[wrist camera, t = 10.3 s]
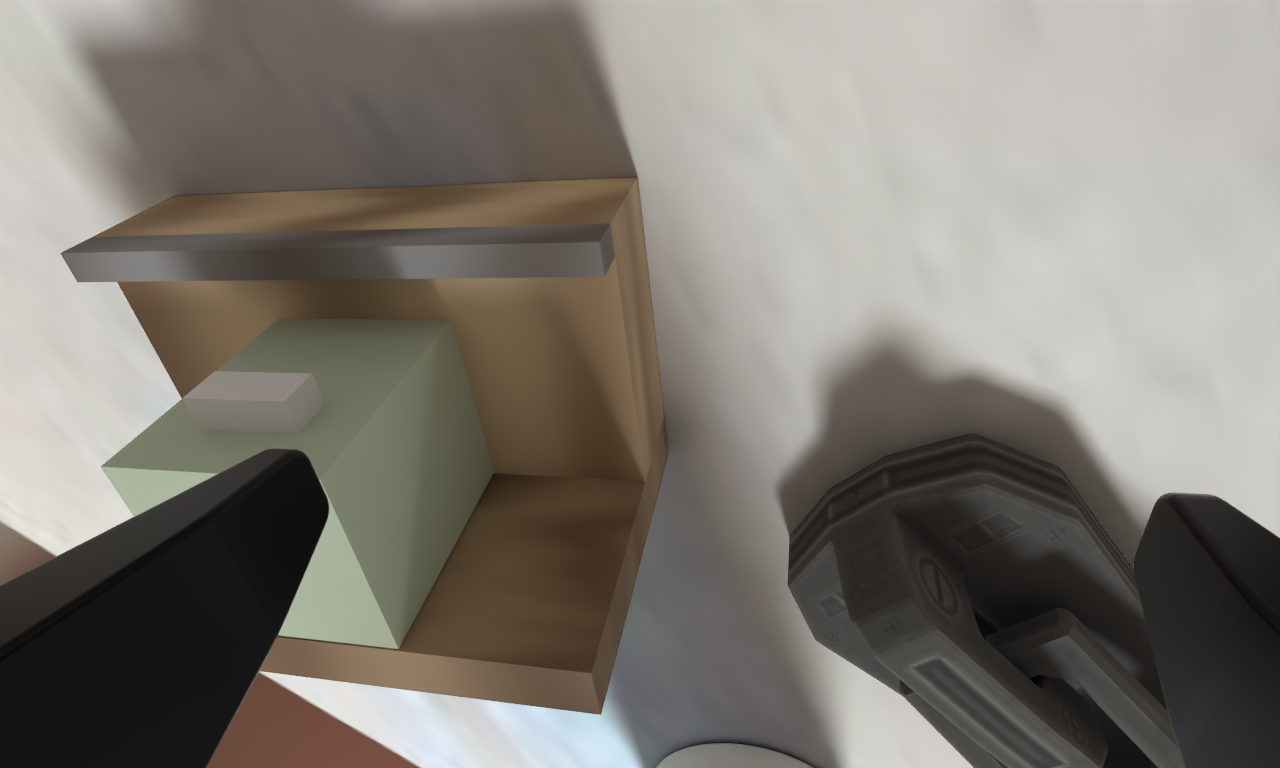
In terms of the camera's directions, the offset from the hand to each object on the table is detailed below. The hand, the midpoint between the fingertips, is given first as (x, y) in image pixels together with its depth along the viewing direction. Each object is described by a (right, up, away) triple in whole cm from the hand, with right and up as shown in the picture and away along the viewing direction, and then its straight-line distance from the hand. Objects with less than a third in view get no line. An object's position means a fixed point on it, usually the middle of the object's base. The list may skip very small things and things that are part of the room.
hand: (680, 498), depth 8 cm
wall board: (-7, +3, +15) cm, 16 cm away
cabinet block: (-7, +1, +12) cm, 14 cm away
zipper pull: (+15, -9, +18) cm, 25 cm away
